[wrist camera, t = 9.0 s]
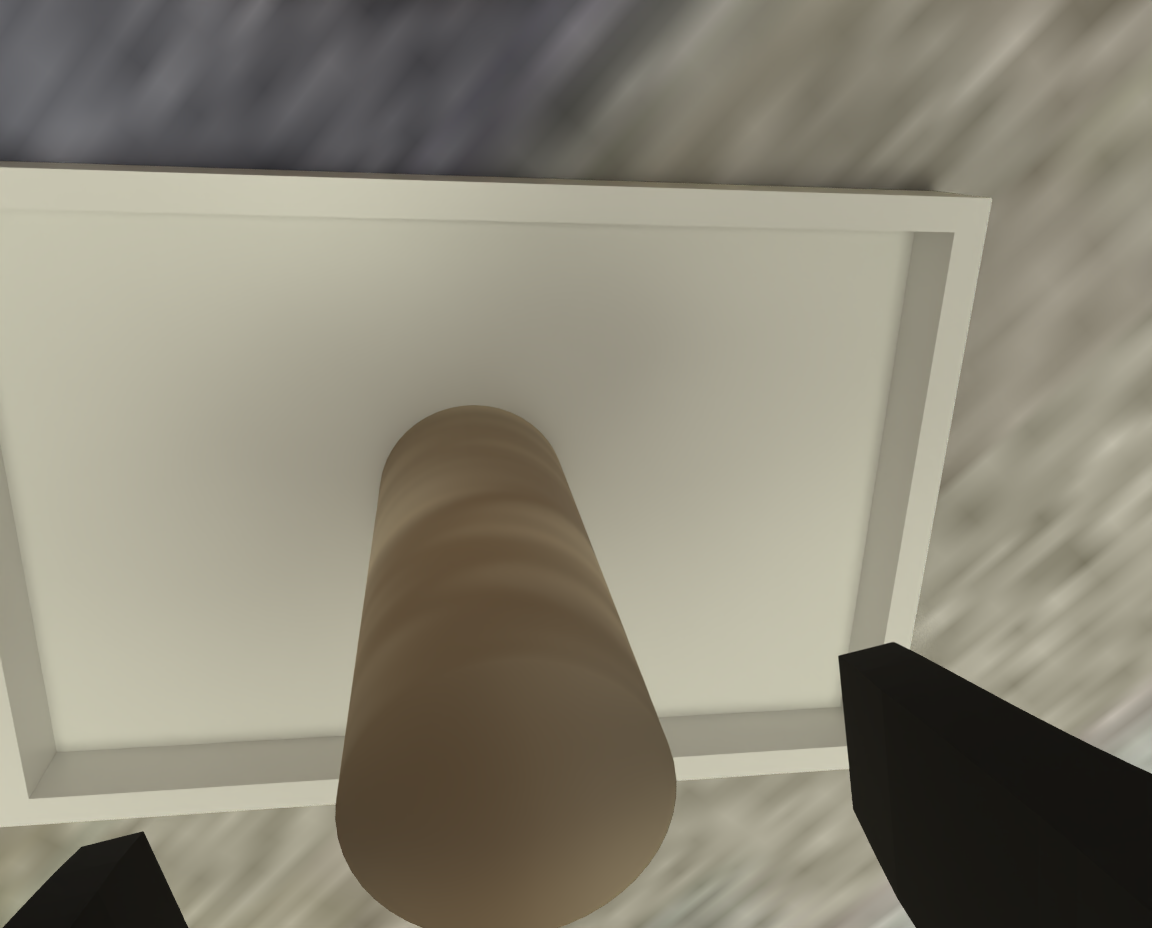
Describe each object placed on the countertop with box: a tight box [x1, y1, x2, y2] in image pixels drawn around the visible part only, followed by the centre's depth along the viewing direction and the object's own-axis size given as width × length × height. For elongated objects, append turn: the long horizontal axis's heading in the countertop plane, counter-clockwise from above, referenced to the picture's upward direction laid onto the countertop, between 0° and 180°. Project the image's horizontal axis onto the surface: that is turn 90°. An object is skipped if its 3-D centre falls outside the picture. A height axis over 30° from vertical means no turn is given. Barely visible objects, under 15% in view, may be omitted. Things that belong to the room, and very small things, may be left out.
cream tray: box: [0, 161, 992, 827], centre depth 18 cm, size 18×12×2 cm, turn 87°
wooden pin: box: [335, 405, 676, 928], centre depth 14 cm, size 4×4×9 cm
